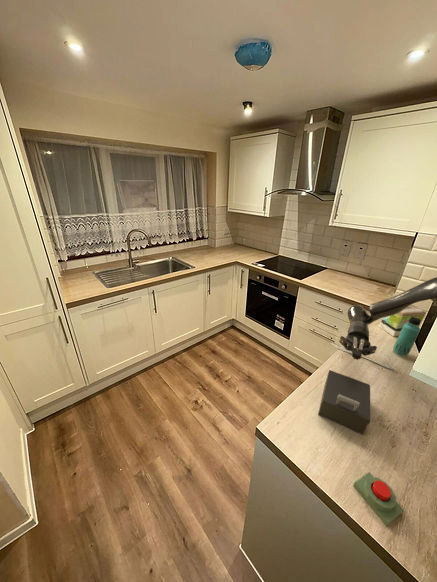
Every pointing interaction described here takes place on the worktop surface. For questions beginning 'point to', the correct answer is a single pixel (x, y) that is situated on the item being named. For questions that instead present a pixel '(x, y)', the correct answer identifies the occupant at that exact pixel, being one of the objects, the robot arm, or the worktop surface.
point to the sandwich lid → (347, 396)
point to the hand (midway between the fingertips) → (356, 357)
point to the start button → (381, 490)
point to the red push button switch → (382, 508)
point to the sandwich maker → (341, 417)
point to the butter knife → (364, 357)
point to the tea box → (401, 320)
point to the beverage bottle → (407, 337)
